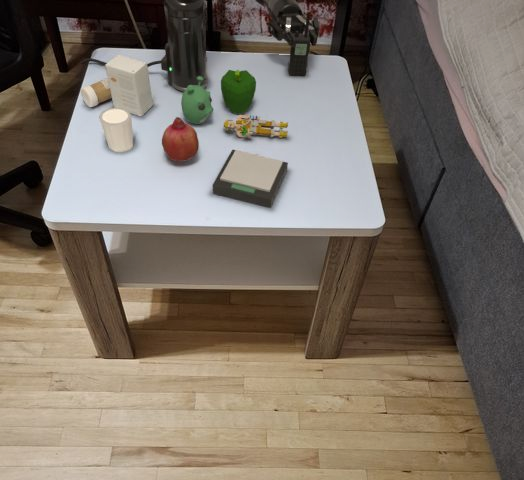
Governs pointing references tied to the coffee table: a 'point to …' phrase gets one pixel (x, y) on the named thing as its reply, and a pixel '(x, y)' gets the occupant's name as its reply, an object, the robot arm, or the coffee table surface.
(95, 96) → the sprinkles bottle
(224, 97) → the bell pepper
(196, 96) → the alien toy
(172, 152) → the fruit
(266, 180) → the scale
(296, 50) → the walkie-talkie
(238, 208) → the coffee table surface
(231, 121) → the toy
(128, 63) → the small box
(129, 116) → the white candle
